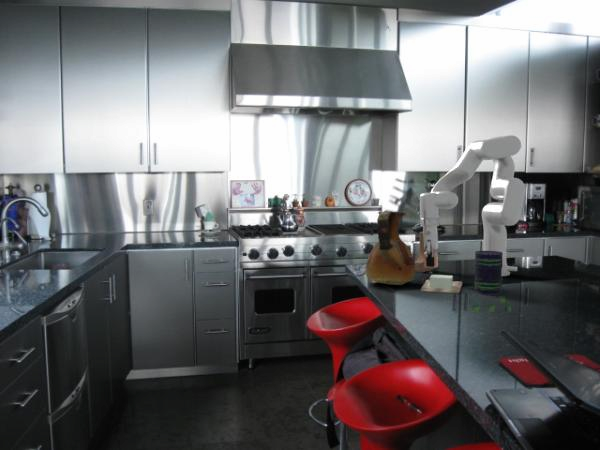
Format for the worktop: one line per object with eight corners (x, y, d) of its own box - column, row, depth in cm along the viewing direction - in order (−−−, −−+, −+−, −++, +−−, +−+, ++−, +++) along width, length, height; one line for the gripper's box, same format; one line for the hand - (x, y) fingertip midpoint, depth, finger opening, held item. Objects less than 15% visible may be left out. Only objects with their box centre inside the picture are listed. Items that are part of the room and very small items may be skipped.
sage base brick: (452, 285, 209) (452, 275, 209) (451, 288, 204) (451, 278, 203) (431, 284, 212) (431, 274, 212) (429, 287, 206) (429, 277, 206)
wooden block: (421, 272, 245) (421, 233, 243) (413, 271, 248) (413, 232, 247) (432, 270, 251) (433, 231, 249) (424, 269, 254) (425, 231, 252)
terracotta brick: (438, 265, 229) (437, 251, 229) (436, 267, 225) (436, 253, 224) (426, 265, 231) (425, 251, 231) (424, 267, 226) (423, 253, 226)
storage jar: (502, 290, 205) (502, 251, 204) (502, 295, 196) (503, 254, 194) (474, 288, 208) (474, 250, 207) (473, 294, 199) (474, 253, 198)
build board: (462, 284, 218) (462, 281, 217) (459, 293, 201) (459, 290, 201) (426, 282, 222) (426, 279, 222) (421, 290, 206) (421, 288, 205)
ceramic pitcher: (420, 281, 225) (420, 209, 222) (408, 290, 206) (408, 212, 204) (374, 278, 233) (374, 208, 230) (359, 287, 215) (359, 211, 212)
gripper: (436, 224, 217) (438, 269, 219) (440, 219, 233) (442, 261, 234) (417, 224, 219) (419, 269, 221) (423, 220, 235) (424, 261, 237)
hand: (431, 264), depth 228 cm, fingers closed on terracotta brick, 5 cm apart
